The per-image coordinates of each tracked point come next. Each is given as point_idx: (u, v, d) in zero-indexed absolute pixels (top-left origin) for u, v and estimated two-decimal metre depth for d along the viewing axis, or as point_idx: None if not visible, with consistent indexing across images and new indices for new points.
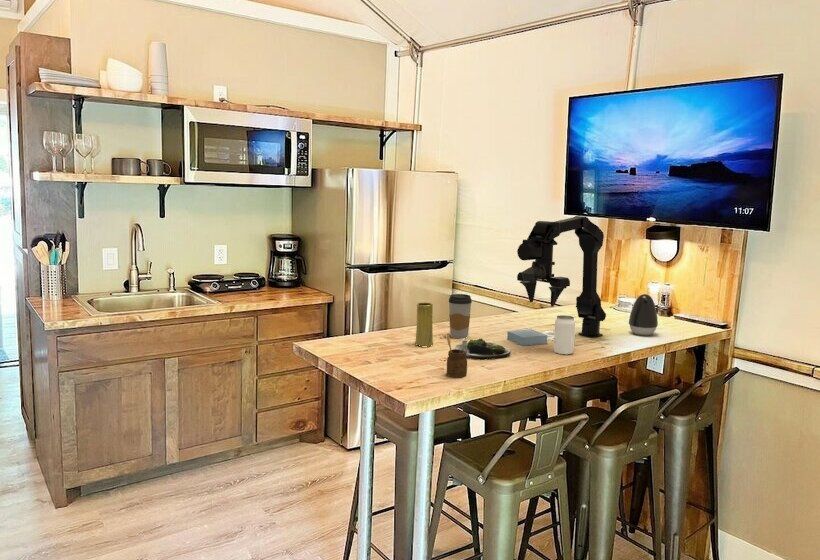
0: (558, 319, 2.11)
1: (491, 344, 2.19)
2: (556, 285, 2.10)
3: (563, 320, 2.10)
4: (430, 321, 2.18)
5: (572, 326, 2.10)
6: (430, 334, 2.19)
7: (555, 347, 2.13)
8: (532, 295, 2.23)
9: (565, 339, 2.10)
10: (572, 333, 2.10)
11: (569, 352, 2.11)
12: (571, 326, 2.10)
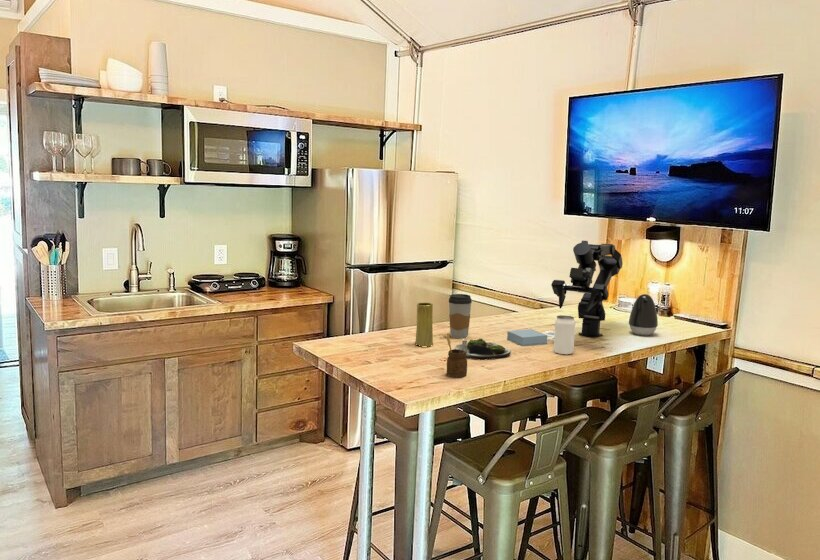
0: (558, 319, 2.11)
1: (491, 344, 2.19)
2: (602, 287, 2.16)
3: (563, 320, 2.10)
4: (430, 321, 2.18)
5: (572, 326, 2.10)
6: (430, 334, 2.19)
7: (555, 347, 2.13)
8: (562, 302, 2.22)
9: (565, 339, 2.10)
10: (572, 333, 2.10)
11: (569, 352, 2.11)
12: (571, 326, 2.10)
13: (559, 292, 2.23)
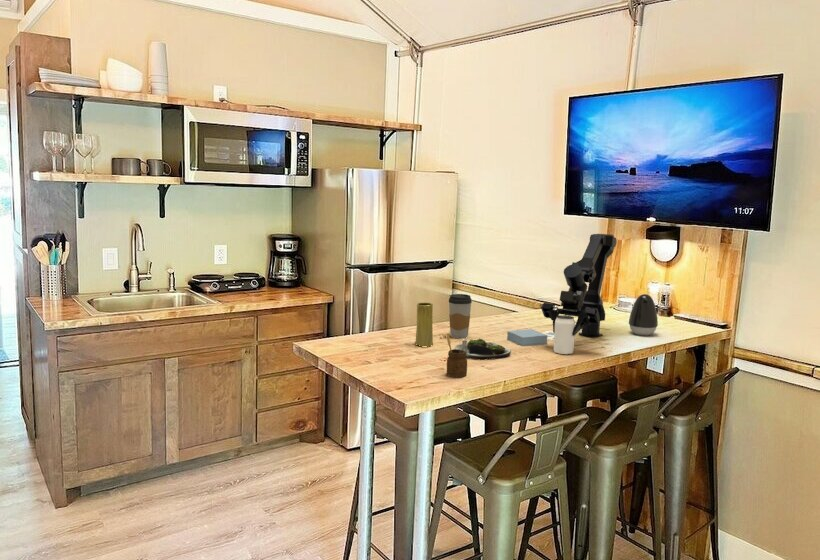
0: (558, 319, 2.11)
1: (491, 344, 2.19)
2: (593, 311, 2.09)
3: (563, 320, 2.10)
4: (430, 321, 2.18)
5: (572, 326, 2.10)
6: (430, 334, 2.19)
7: (555, 347, 2.13)
8: None
9: (565, 339, 2.10)
10: None
11: (569, 352, 2.11)
12: (571, 326, 2.10)
13: (553, 316, 2.16)
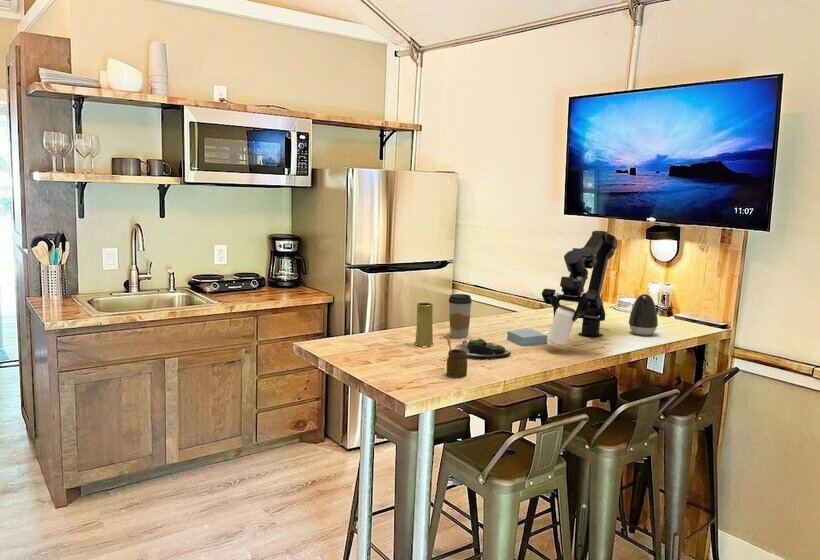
0: (560, 309, 2.11)
1: (491, 344, 2.19)
2: (593, 297, 2.08)
3: (565, 311, 2.09)
4: (430, 321, 2.18)
5: (572, 319, 2.10)
6: (430, 334, 2.19)
7: (550, 335, 2.13)
8: None
9: (562, 330, 2.10)
10: (570, 325, 2.11)
11: (563, 343, 2.11)
12: (571, 319, 2.10)
13: (554, 302, 2.15)
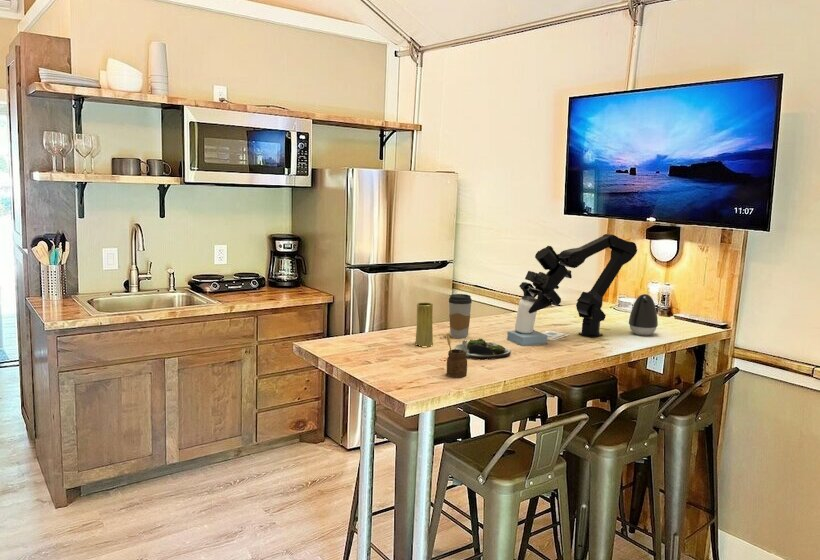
0: (521, 299, 2.26)
1: (491, 344, 2.19)
2: (547, 292, 2.18)
3: (523, 301, 2.24)
4: (430, 321, 2.18)
5: None
6: (430, 334, 2.19)
7: None
8: None
9: (521, 319, 2.25)
10: (529, 315, 2.24)
11: (523, 331, 2.26)
12: (529, 308, 2.23)
13: (524, 294, 2.30)
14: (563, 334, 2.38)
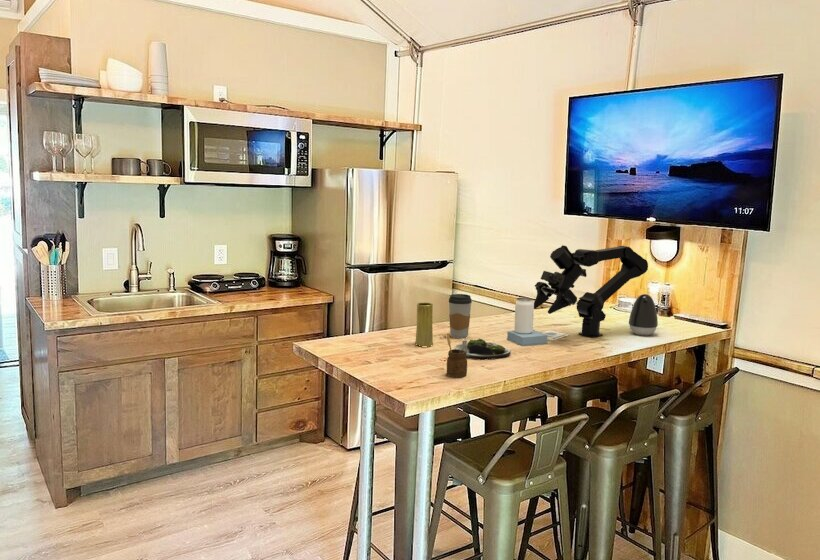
0: None
1: (491, 344, 2.19)
2: (564, 292, 2.21)
3: (518, 301, 2.26)
4: (430, 321, 2.18)
5: (526, 307, 2.24)
6: (430, 334, 2.19)
7: (514, 326, 2.29)
8: (538, 303, 2.33)
9: (519, 319, 2.26)
10: (526, 314, 2.25)
11: (523, 331, 2.26)
12: (525, 307, 2.24)
13: (537, 293, 2.34)
14: (563, 334, 2.38)
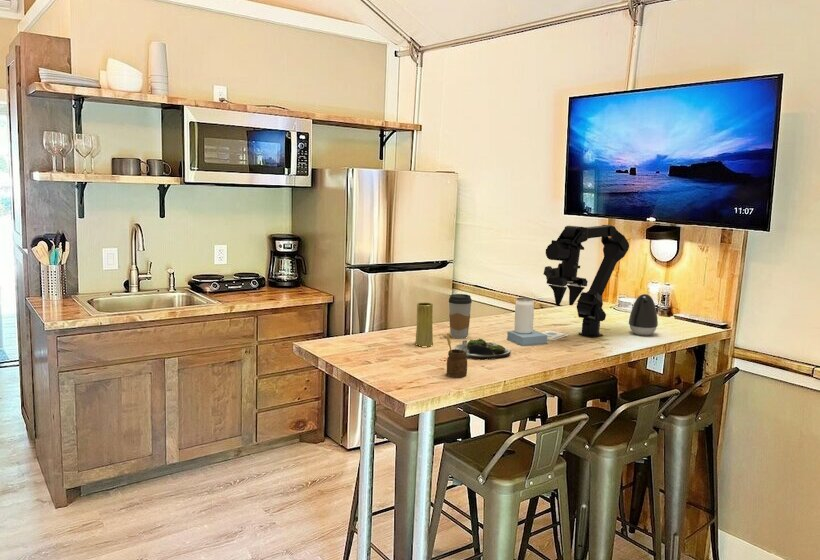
0: None
1: (491, 344, 2.19)
2: None
3: (518, 301, 2.26)
4: (430, 321, 2.18)
5: (526, 307, 2.24)
6: (430, 334, 2.19)
7: (514, 326, 2.29)
8: (572, 299, 2.31)
9: (519, 319, 2.26)
10: (526, 314, 2.25)
11: (523, 331, 2.26)
12: (525, 307, 2.24)
13: None
14: (563, 334, 2.38)
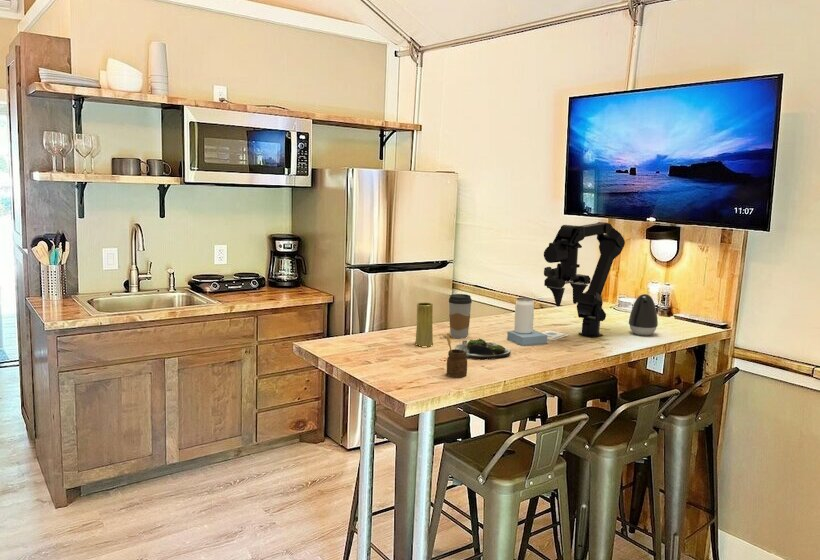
0: None
1: (491, 344, 2.19)
2: None
3: (518, 301, 2.26)
4: (430, 321, 2.18)
5: (526, 307, 2.24)
6: (430, 334, 2.19)
7: (514, 326, 2.29)
8: (575, 297, 2.30)
9: (519, 319, 2.26)
10: (526, 314, 2.25)
11: (523, 331, 2.26)
12: (525, 307, 2.24)
13: None
14: (563, 334, 2.38)
